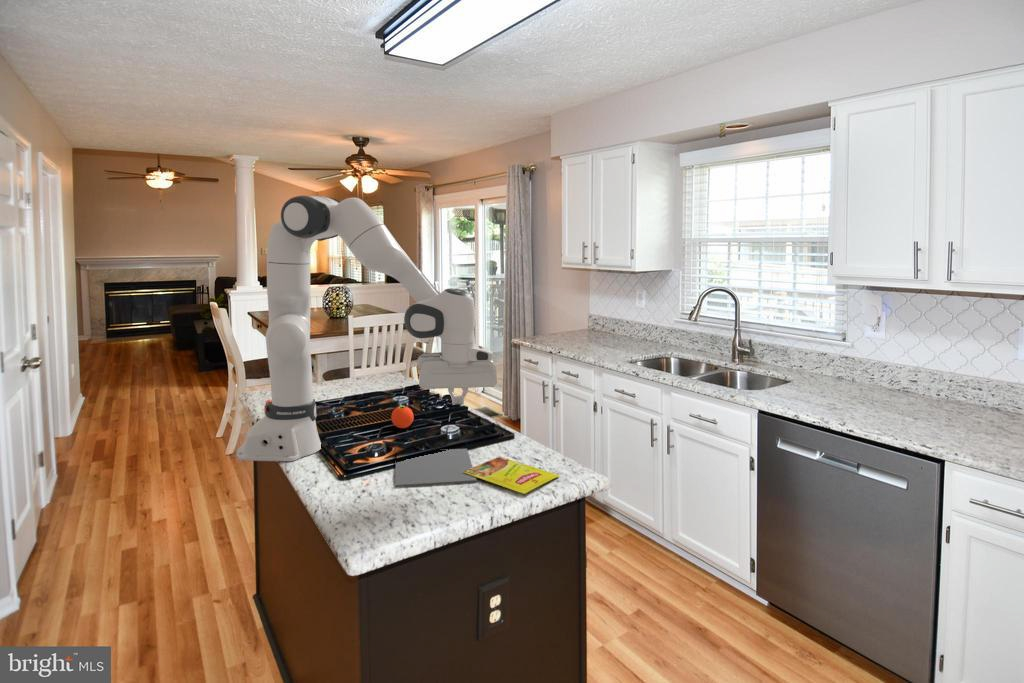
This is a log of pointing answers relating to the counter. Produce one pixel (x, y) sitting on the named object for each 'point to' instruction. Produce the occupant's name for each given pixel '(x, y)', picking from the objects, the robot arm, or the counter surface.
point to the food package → (511, 474)
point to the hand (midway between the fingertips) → (458, 403)
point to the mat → (435, 469)
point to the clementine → (402, 417)
